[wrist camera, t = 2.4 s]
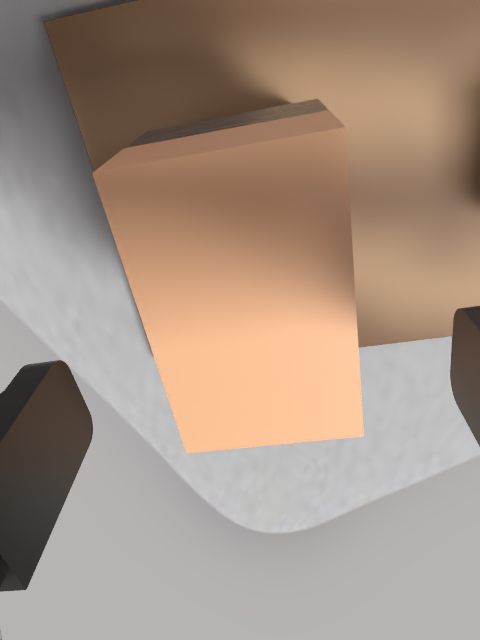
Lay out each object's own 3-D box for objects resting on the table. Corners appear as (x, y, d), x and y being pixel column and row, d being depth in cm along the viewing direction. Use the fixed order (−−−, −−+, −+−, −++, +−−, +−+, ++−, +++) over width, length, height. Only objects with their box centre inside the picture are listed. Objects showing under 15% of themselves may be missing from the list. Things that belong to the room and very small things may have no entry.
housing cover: (123, 148, 11) (92, 173, 9) (329, 109, 11) (345, 127, 9) (197, 396, 15) (186, 453, 13) (348, 378, 15) (364, 436, 13)
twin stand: (54, 22, 16) (-19, 15, 12) (825, -154, 13) (1090, -246, 9) (164, 359, 24) (143, 428, 20) (672, 296, 21) (777, 361, 17)
